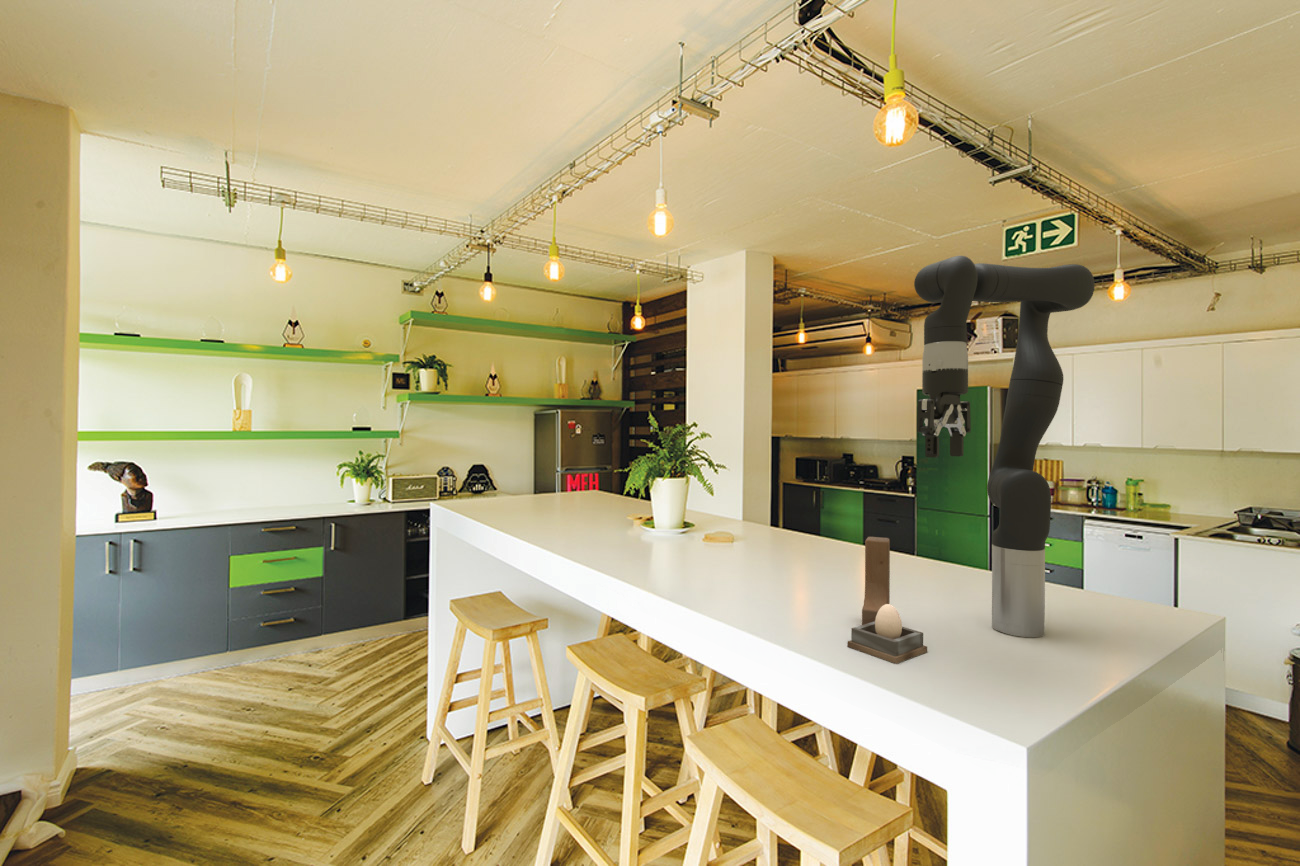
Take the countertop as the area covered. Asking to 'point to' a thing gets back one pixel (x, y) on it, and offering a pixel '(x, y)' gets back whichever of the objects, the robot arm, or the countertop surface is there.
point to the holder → (887, 643)
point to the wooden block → (876, 577)
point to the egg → (888, 622)
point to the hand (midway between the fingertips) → (944, 456)
